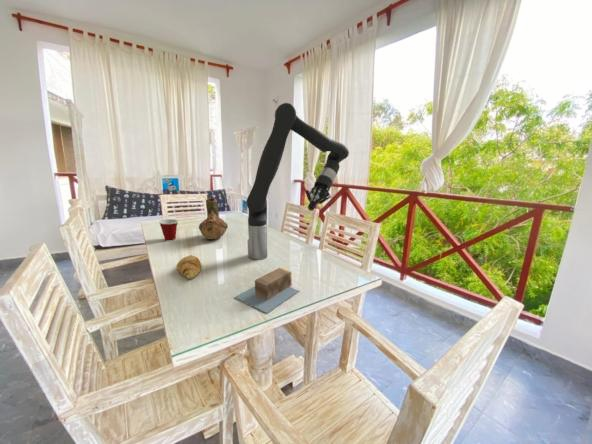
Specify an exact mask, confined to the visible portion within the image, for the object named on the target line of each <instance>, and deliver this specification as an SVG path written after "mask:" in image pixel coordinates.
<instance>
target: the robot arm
mask: <svg viewBox="0 0 592 444" xmlns="http://www.w3.org/2000/svg"><path fill="white" fill-rule="evenodd" d="M271 130H272V131H271V132H270V135H269V137H268V139H267V141H266V143H265V145H264V148H263V150H262V153H261V156H260V158H259V162H258V165H257V169H256V174H255V178H254V179H255V180H254V182H253V184H252V188H251V190H250V192H249V194H248V197H247V198H246V207H247V209H248V218H247V226H248V228H247V229H248V239H247V257H248V259H252V260H263V259H266V258H268V225H267V224H268V221H267V220H268V201H267V197H268V194H269V190H270V186H271V185H272V182H273V180H274V179H275V176H276V175H277V172H278V169H279V167H280V164H281V162H282V157H283V154H284V151H285V147H286V143H287V139H288V137H289V134H290V131H291V132H293V133H296V134H297V135H299V136H300V137H302V138H303V139H304V140H306V141H307V142H308V143H310V144H311V145H312V146H313V147H315V148H316V149H318V150H319V151H320V152H321V153H327V152H329V153H328V154H327V157H326V161H325V163H324V165H323V168H322V170H320V172H319V174H318V176H317V178H316V179H315V182H314V184H313V187H311V189H310V190H307V189H306V191H305V193H306V197H307V200H308V201H309V203H308V206H307V208H308V210H309V211H314V210H315V209H316V207H317V205H318V204H319V205H322V204H323V203H325V202H326V201H328V200H329V199H330V198H332V196H331V193H330V189H331V187H332V185H333V184H334V181H335V179H336V178H337V174H338V173H339V170H340V167H341V166H340V163H341V162H342V161H344V160H346V159H347V158H348V157H349V155H350V151H349V149H348V147H347V146H346V145H345V144H343V143H341V142H339V141H337V140H334V139H332V138H330V137H329V136H327V135H326V134H325V133H323V132H322V131H320V130H318V129H317V128H315V127H313V126H312V125H310V124H309V123H306V122H305V121H303V120H302V119H301V118H300V117H299V116H298V115H297V110H296V108H295V106H294V105H293V104H291V103H290V102H283V103H281V104H279V105H278V106H277V108H276V109H275V111H274V123H273V127H272V129H271Z"/></svg>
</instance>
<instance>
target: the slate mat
mask: <svg viewBox="0 0 592 444" xmlns="http://www.w3.org/2000/svg"><path fill="white" fill-rule="evenodd" d="M298 293H300V290H298V289H296V288H293V287H291V286H290V287H288V288H286V289H285V290H283V291H282V292H280V293H278V294H277V295H275V296H274V297H272V298H270V299H269V300H265V299H263V298H261V297H258V296H256V295H255V285H254V286H252V287H251V288H249V289H246V290H245V291H243V292H241V293H239V294H238V295H235V296H234V299H235V298H237V299H236V300H238V299H239V300H238V301H240V300H241V301H240V302H242V301H243V302H242V303H244V302H245V303H244V304H246V303H247V304H246V305H248V304H249V305H248V306H250V305H252V306H254V307H255V308H254V307H253V308H254V309H256V308H257V309H256V310H258V309H259V310H258V311H260V310H261V311H260V312H262V311H263V312H262V313H264V312H265V313H264V314H266V313H268V314H269V313H270V312H272V311H273V310H275V309H277V307H279V306H280V305H282V304H283V303H285V302H287V301H288V300H290V299H291V298H292V297H294V296H295V295H297V294H298ZM252 306H251V307H252Z"/></svg>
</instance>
